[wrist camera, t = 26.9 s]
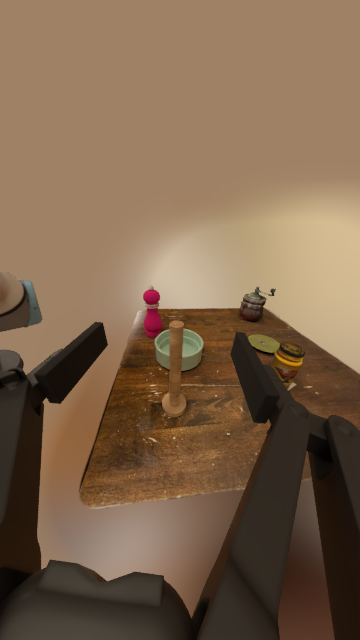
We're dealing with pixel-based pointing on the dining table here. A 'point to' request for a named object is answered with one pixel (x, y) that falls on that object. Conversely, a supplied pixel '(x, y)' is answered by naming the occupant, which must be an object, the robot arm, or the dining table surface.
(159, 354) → the bowl
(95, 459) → the dining table surface
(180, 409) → the wooden post with base
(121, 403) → the dining table surface
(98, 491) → the dining table surface
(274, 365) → the condiment
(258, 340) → the olive green flat disc
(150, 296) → the pepper mill
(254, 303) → the coffee grinder
